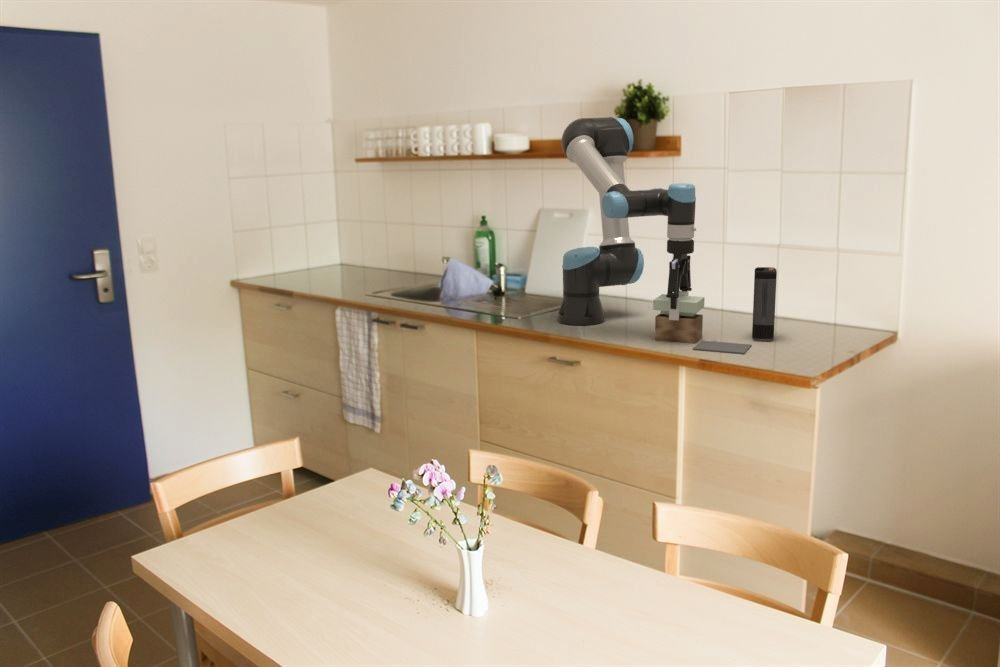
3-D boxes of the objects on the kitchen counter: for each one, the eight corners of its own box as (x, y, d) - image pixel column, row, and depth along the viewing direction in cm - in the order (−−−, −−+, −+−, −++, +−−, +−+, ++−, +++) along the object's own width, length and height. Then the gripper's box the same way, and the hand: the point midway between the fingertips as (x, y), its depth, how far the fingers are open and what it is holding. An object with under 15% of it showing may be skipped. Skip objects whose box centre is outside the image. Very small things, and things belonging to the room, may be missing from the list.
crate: (655, 340, 246) (655, 316, 244) (662, 334, 252) (662, 311, 250) (696, 343, 240) (696, 319, 239) (702, 338, 247) (702, 314, 245)
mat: (692, 349, 234) (692, 348, 233) (701, 341, 242) (701, 340, 242) (744, 354, 227) (744, 352, 227) (751, 345, 236) (751, 344, 236)
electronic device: (752, 333, 250) (754, 266, 246) (773, 334, 248) (776, 267, 244) (751, 341, 241) (754, 271, 237) (773, 341, 240) (776, 272, 235)
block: (653, 315, 244) (653, 299, 243) (662, 309, 251) (662, 294, 250) (696, 318, 238) (696, 302, 237) (704, 312, 246) (704, 297, 245)
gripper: (683, 244, 229) (681, 325, 234) (703, 234, 247) (700, 310, 253) (656, 243, 232) (654, 323, 237) (678, 234, 251) (676, 308, 256)
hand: (678, 316), depth 245 cm, fingers closed on block, 9 cm apart
